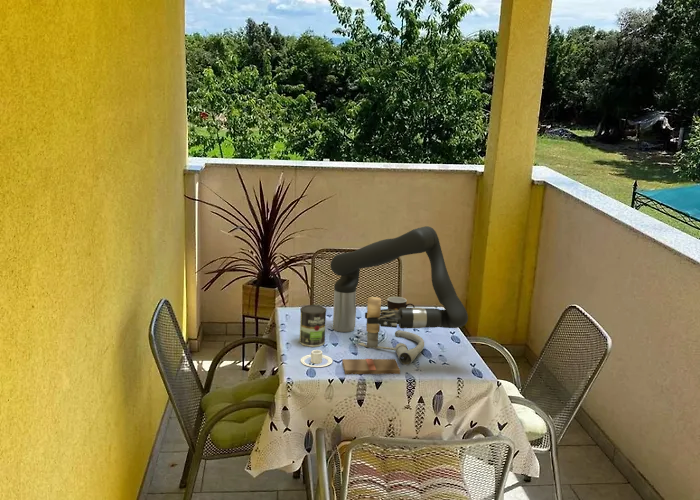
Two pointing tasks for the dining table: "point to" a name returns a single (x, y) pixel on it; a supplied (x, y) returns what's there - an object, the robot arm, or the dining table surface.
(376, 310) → the tan grey cylinder
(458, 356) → the dining table surface
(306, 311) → the coffee can
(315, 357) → the candle holder
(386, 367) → the board
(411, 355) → the faucet
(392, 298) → the coffee mug
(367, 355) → the dining table surface
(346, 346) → the dining table surface
